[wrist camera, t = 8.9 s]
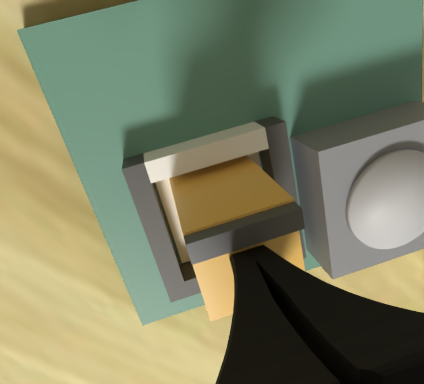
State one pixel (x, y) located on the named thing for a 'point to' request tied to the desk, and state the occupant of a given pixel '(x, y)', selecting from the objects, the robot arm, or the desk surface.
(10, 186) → the desk surface
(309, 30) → the board
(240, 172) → the plug
